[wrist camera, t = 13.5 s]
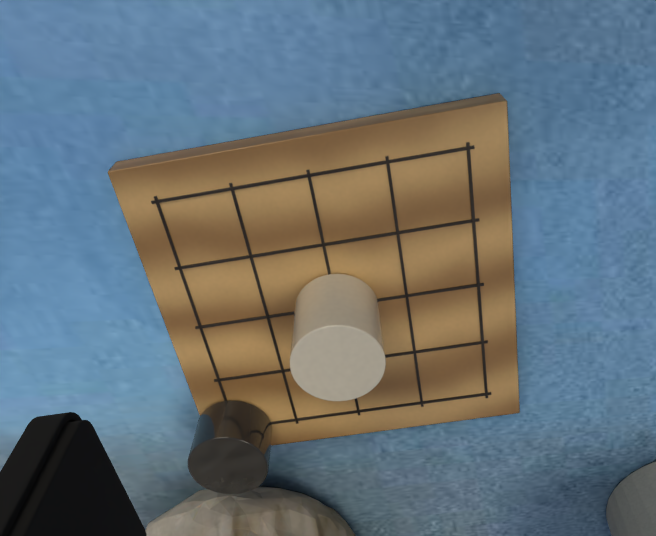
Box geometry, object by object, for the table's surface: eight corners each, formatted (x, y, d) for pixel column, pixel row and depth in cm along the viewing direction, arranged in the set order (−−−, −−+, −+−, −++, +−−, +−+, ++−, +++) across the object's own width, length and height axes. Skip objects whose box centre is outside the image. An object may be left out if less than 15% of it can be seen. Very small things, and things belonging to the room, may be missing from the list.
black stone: (188, 405, 39) (177, 443, 36) (263, 395, 38) (257, 432, 35) (209, 459, 41) (200, 499, 38) (280, 450, 41) (276, 489, 38)
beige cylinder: (286, 280, 34) (280, 333, 30) (372, 266, 34) (378, 318, 29) (303, 349, 36) (300, 407, 32) (384, 337, 36) (391, 395, 32)
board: (115, 161, 32) (106, 172, 31) (499, 92, 31) (508, 101, 29) (217, 436, 42) (213, 454, 41) (513, 397, 40) (520, 414, 39)
